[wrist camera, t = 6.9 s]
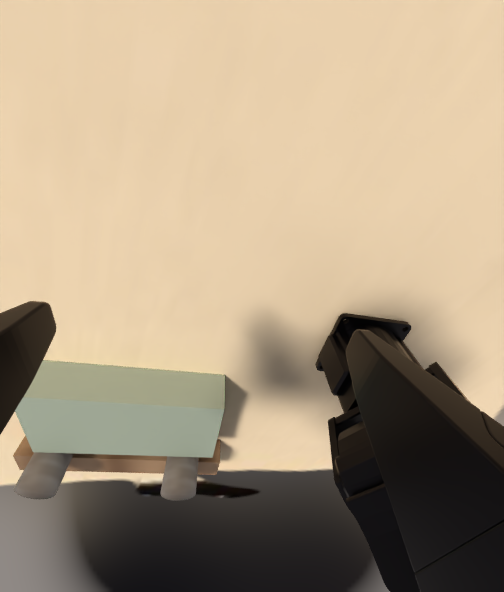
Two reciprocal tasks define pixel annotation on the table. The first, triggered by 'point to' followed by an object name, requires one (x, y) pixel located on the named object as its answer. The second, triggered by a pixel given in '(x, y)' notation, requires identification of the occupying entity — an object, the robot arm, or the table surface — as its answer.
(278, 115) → the table surface
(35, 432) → the painted plate block
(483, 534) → the robot arm
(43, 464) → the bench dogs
